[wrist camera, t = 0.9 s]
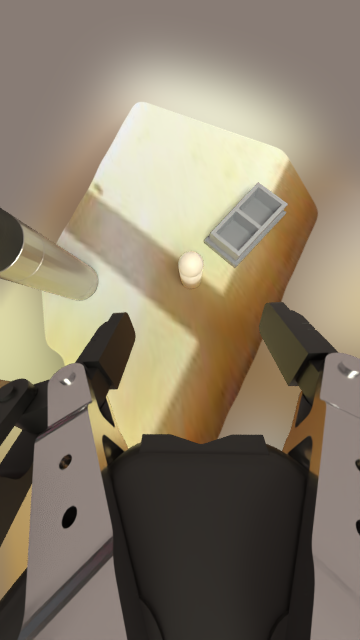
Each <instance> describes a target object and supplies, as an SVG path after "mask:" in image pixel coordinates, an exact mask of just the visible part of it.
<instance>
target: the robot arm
mask: <svg viewBox="0 0 360 640" xmlns="http://www.w3.org/2000/svg"><path fill="white" fill-rule="evenodd" d="M0 278H1V279H4V280H8V281H11V282H15V283H18V284H22V285H26V286H29V287H32V288H36V289H39V290H43V291H46V292H49V293H53V294H56V295H60V296H63V297H67V298H70V299H74V300H84V299H87V298H89V297H90V296H91V295H92V294H93V293H94V292H95V290H96V288H97V285H98V277H97V274H96V272H95V271H94V269H93V268H91V267H90V266H88V265H87V264H85V263H84V262H82V261H81V260H79V259H78V258H76V257H75V256H73V255H72V254H70V253H69V252H67V251H66V250H64V249H63V248H61V247H60V246H58V245H56V244H55V243H53V242H52V241H50V240H49V239H47V238H45V237H44V236H43V235H41V234H40V233H38V232H37V231H35V230H33V229H32V228H30V227H29V226H27V225H26V224H24V223H23V222H21V221H20V220H18V219H17V218H15V217H13V216H12V215H10V214H9V213H7V212H6V211H4V210H2V209H1V208H0ZM259 330H260V334H261V336H262V338H263V340H264V342H265V344H266V345H267V347H268V349H269V351H270V353H271V355H272V357H273V358H274V360H275V362H276V364H277V366H278V368H279V370H280V371H281V373H282V375H283V377H284V379H285V381H286V382H287V384H288V386H299V387H300V389H301V390H302V391H301V392H300V394H299V397H298V402H297V406H296V410H295V414H294V419H293V422H292V427H291V430H290V433H289V435H288V437H287V439H286V441H285V444H284V447H283V450H282V451H280V450H279V449H277V448H275V447H273V446H270V445H268V444H266V443H265V440H264V437H263V435H230V436H226V437H223V438H221V439H217V440H214V441H211V442H208V443H205V444H198V443H195V442H192V441H189V440H186V439H183V438H180V437H177V436H174V435H171V434H143V435H142V441H141V443H139V444H137V445H135V446H132V447H131V448H129V449H128V447H127V444H126V442H125V440H124V438H123V436H122V434H121V433H120V431H119V428H118V425H117V422H116V419H115V416H114V413H113V410H112V407H111V404H110V401H109V398H108V396H107V393H108V391H109V389H118V386H119V384H120V381H121V378H122V375H123V373H124V370H125V367H126V364H127V361H128V359H129V356H130V353H131V350H132V347H133V345H134V342H135V331H134V328H133V325H132V323H131V320H130V317H129V315H128V313H126V312H124V313H113V314H112V316H111V317H110V319H109V320H108V322H105V323H104V324H103V325H101V326H100V327H99V328H98V329H97V331H96V332H95V334H94V336H93V337H92V338H91V341H89V343H88V344H87V346H86V347H85V349H84V350H83V352H82V353H81V355H80V356H79V358H78V359H77V361H76V362H75V363H73V364H69V365H67V366H65V367H63V368H61V369H60V370H58V371H57V372H56V373H55V374H54V375H53V376H52V378H51V379H50V380H47V381H44V382H40V383H37V384H34V385H33V384H31V383H30V382H29V381H28V380H26V379H17V380H14V381H11V382H9V383H7V384H6V385H4V386H2V387H1V388H0V446H1V444H2V443H3V441H4V440H5V439H6V437H7V436H8V434H9V433H10V431H11V430H12V429H13V427H14V426H16V427H18V428H20V429H22V432H21V433H20V435H19V436H18V438H17V439H16V441H15V442H14V444H13V445H12V447H11V448H10V450H9V451H8V453H7V454H6V456H5V458H4V459H3V461H2V462H1V464H0V546H1V544H2V542H3V540H4V538H5V536H6V534H7V532H8V530H9V528H10V526H11V524H12V522H13V520H14V518H15V516H16V514H17V512H18V510H19V508H20V506H21V504H22V502H23V500H24V498H25V496H26V494H27V492H28V490H29V488H30V486H31V484H32V497H31V514H30V515H31V516H30V532H29V549H28V567H27V568H26V569H25V571H24V572H23V573H22V574H21V576H20V577H19V578H18V579H17V581H16V582H15V583H14V584H13V585H12V587H11V588H10V589H9V590H8V592H7V593H6V594H5V595H4V597H3V598H2V599H1V600H0V640H360V359H358V358H356V357H354V356H351V355H348V354H344V353H338V352H337V351H336V349H334V347H333V346H332V345H331V344H330V343H329V342H328V341H327V340H326V339H325V338H324V337H323V336H322V335H321V334H320V333H319V332H318V331H317V330H315V328H314V327H313V326H312V325H311V324H309V322H308V321H307V320H306V319H305V318H304V317H303V316H302V315H300V314H299V313H297V312H295V311H292V310H289V308H288V307H287V306H286V305H285V304H284V303H283V302H274V303H266V304H265V306H264V310H263V313H262V317H261V321H260V325H259Z"/></svg>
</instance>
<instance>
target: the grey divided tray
mask: <svg viewBox="0 0 360 640" xmlns="http://www.w3.org/2000/svg"><path fill="white" fill-rule="evenodd" d="M286 206H287V203H286V202H284V201H283V200H282V199H280V198H279V197H278V196H276V195H275V194H273V193H272V192H271V191H269V190H268V189H267V188H265V187H264V186H263V185H261V184H260V183H257V184H256V185H255V186H254V187H253V188H252V189H251V190H250V192H249V193H248V194H247V195H246V196H245V197H244V198H243V199H242V200H241V201H240V202H239V203H238V204H237V205H236V206H235V207H234V209H233V210H232V211H231V212H230V213H229V214H228V215H227V216H226V217H225V218H224V219H223V220H222V221H221V222H220V223H219V224H218V226H217V227H216V228H215V229H214V230H213V231H212V232H211V233H210V235H209V236H208V237H207V238H206V239H205V240H204V243H205V244H206V245H208V246H209V247H210V248H211V249H212V250H214V251H215V252H216V253H217V254H218V255H220V256H221V257H222V258H223V259H224V260H226V261H227V262H228V263H229V264H230V265H232V266H233V267H234V268H236V266H237V265H238V264H239V263H240V262H241V261H242V260H243V259H244V258H245V257H246V256H247V255H248V254H249V253H250V252H251V250H252V249H253V248H254V247H255V246H256V245H257V244H258V243H259V242H260V241H261V240H262V239H263V238H264V237H265V236H266V234H267V233H268V232H269V231H270V230H271V229H272V228H273V227H274V226H275V225H276V224H277V223H278V222H279V221H280V220H281V218H282V217H283V216H284V215H285V214H286V212H285V211H284V209H285V207H286Z"/></svg>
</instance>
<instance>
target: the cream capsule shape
mask: <svg viewBox="0 0 360 640" xmlns="http://www.w3.org/2000/svg"><path fill="white" fill-rule="evenodd" d="M203 267H204V262H203V259H202V257H201V255H200V254H198V253H197V252H194V251H188V252H186V253H184V254H183V255H182V256H181V257H180V259H179V262H178V268H179V273H180V277H181V282H182V284H183V286H184V287H186V288H188V289H194V288H196V287H198V286H199V285H200V283H201V279H202V273H203Z"/></svg>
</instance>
